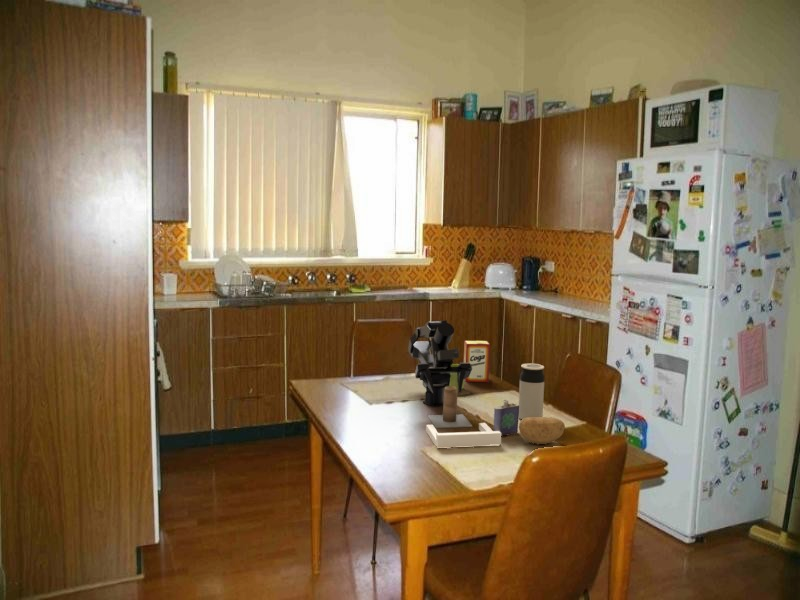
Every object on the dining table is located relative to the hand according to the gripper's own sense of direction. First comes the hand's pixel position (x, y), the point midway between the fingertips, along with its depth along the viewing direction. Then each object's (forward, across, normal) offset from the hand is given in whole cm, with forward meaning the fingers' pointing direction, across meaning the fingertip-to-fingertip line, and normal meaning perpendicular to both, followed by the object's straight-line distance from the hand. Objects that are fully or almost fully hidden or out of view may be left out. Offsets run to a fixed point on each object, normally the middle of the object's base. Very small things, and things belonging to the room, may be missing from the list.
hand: (446, 392), depth 218 cm
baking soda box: (-28, +24, +41) cm, 55 cm away
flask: (+19, +14, -7) cm, 25 cm away
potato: (+26, +22, -14) cm, 37 cm away
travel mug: (+9, +28, +3) cm, 30 cm away
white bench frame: (+21, 0, -9) cm, 23 cm away
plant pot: (-19, +12, +32) cm, 39 cm away
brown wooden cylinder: (+9, 0, +2) cm, 9 cm away
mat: (+9, 0, +3) cm, 10 cm away
